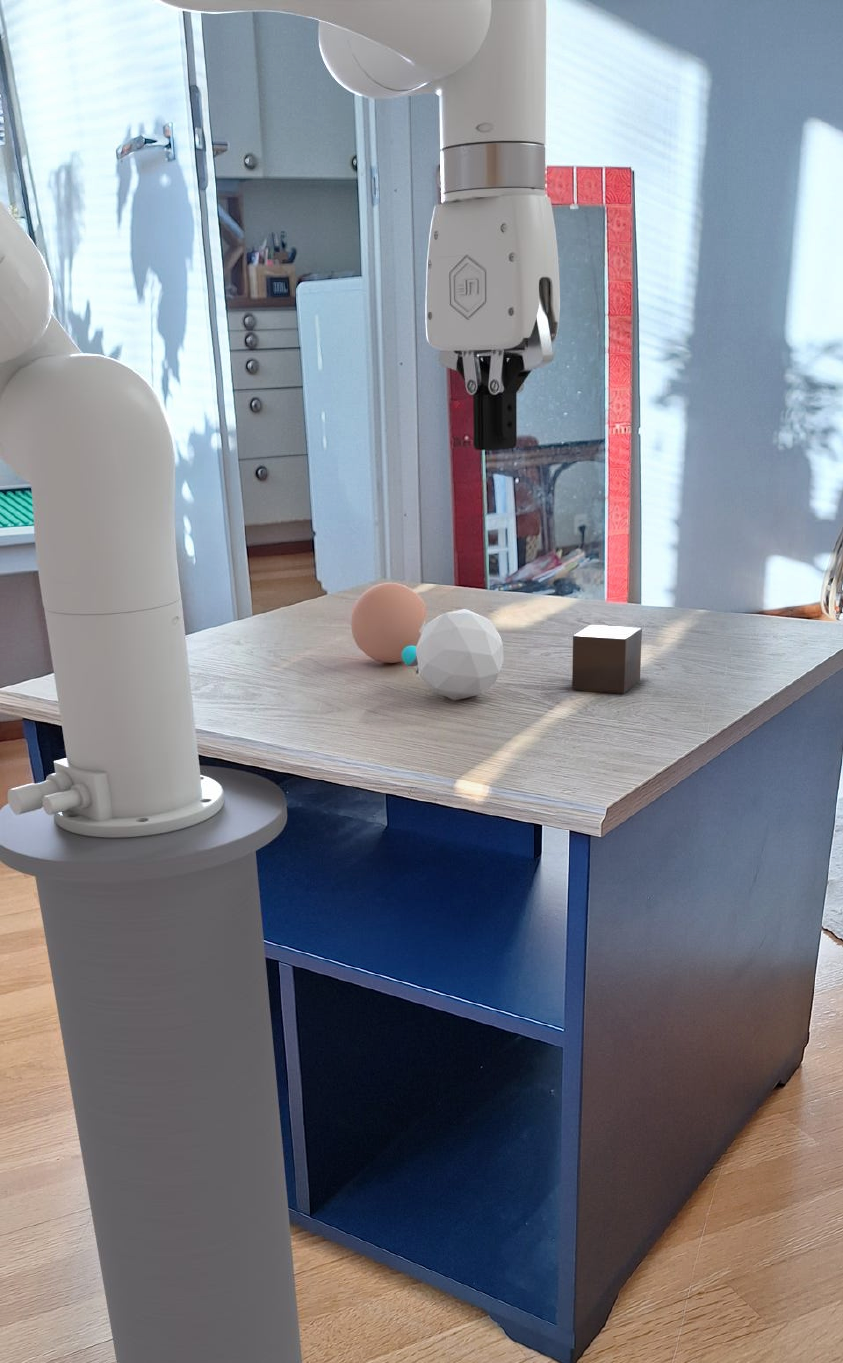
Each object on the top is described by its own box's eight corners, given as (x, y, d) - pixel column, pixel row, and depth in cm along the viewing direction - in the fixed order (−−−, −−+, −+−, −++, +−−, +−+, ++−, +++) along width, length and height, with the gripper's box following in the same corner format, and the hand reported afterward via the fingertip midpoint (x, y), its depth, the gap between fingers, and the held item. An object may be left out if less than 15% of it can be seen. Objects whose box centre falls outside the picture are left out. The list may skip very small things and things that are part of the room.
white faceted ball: (447, 675, 110) (358, 672, 119) (506, 715, 116) (416, 709, 124) (477, 592, 111) (386, 594, 120) (534, 636, 117) (443, 635, 125)
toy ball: (445, 659, 132) (443, 581, 128) (394, 675, 126) (390, 593, 123) (388, 650, 137) (384, 574, 133) (336, 664, 131) (331, 585, 128)
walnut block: (624, 694, 117) (625, 639, 115) (571, 689, 119) (572, 635, 117) (640, 681, 121) (642, 627, 119) (589, 677, 123) (590, 624, 121)
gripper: (384, 187, 95) (394, 449, 103) (537, 164, 85) (536, 456, 93) (455, 191, 100) (460, 442, 108) (607, 170, 90) (601, 448, 98)
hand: (495, 448), depth 100 cm, fingers closed
